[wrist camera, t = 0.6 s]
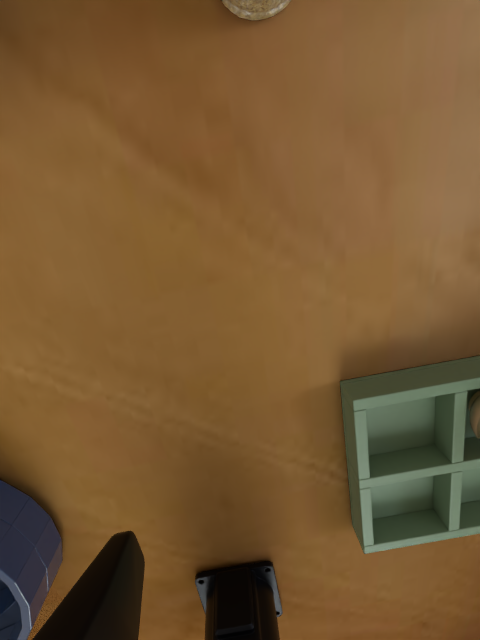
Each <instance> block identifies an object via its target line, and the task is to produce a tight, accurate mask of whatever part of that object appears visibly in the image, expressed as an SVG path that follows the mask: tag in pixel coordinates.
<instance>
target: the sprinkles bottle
mask: <svg viewBox="0 0 480 640" xmlns="http://www.w3.org/2000/svg"><path fill="white" fill-rule="evenodd" d="M221 1H222V2H223V4H224V6H225V7H227V8H228V9H229V10H230V11H231V12H232V13H234V14H235V15H237V16H238V17H239V18H244V19H248V20H261V19H266V18H270V17H273V16H274V15H276V14H277V13H279V12H280V11H282V10H283V9H284V8H285V7H286V6H287V5H288V3H289V2H290V1H291V0H221Z"/></svg>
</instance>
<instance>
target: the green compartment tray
mask: <svg viewBox="0 0 480 640" xmlns="http://www.w3.org/2000/svg"><path fill="white" fill-rule="evenodd" d="M340 388H341V399H342V411H343V423H344V434H345V446H346V457H347V469H348V480H349V492H350V503H351V515H352V525H353V528H354V530H355V533H356V535H357V537H358V540H359V542H360V545H361V547H362V550H363V552H364V554H366V553H372V552H378V551H383V550H389V549H395V548H400V547H406V546H412V545H417V544H423V543H428V542H434V541H440V540H445V539H451V538H457V537H462V536H468V535H473V534H479V533H480V441H479V440H478V439H477V437H476V436H475V434H474V432H473V431H472V429H471V425H470V421H469V412H470V411H469V408H468V405H469V401H470V399H471V397H472V396H473V395H474V394H475V393H476V392H478V391H479V390H480V356H475V357H470V358H464V359H459V360H453V361H448V362H442V363H437V364H431V365H426V366H420V367H415V368H409V369H404V370H398V371H393V372H387V373H382V374H376V375H371V376H365V377H360V378H354V379H349V380H343V381H340Z"/></svg>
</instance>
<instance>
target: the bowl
mask: <svg viewBox="0 0 480 640" xmlns="http://www.w3.org/2000/svg"><path fill="white" fill-rule="evenodd" d="M61 563H62V539H61V537H60V535H59V533H58V530H57V528H56V526H55V524H54V522H53V520H52V518H51V517H50V516H49V515H48V514H47V513H46V512H45V511H44V510H43V509H42V508H41V507H40V506H39V505H38V504H37V503H36V502H35V501H34V500H33V499H32V498H31V497H30V496H28V495H27V494H25V493H23V492H21V491H20V490H18V489H16V488H14V487H13V486H11V485H9V484H7V483H6V482H4V481H1V480H0V640H27V639H28V637H29V634H30V632H31V630H32V628H33V625H34V623H35V621H36V619H37V616H38V614H39V612H40V610H41V607H42V605H43V603H44V601H45V599H46V596H47V594H48V592H49V590H50V587H51V585H52V583H53V581H54V578H55V576H56V574H57V572H58V569H59V567H60V565H61Z"/></svg>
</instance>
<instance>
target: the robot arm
mask: <svg viewBox="0 0 480 640" xmlns="http://www.w3.org/2000/svg"><path fill="white" fill-rule="evenodd" d="M144 567H145V562H144V556H143V553H142V550H141V548H140V546H139V543H138V541H137V538H136V536H135V534H134V533H133V532H132V531H126V532H121V533H117V534H115V535H113V536H112V537H111V538H110V540H109V541H108V542H107V544H106V545H105V546H104V547H103V549H102V550H101V551H100V553H99V554H98V555H97V557H96V558H95V559H94V560H93V562H92V563H91V564H90V566H89V567H88V568H87V570H86V571H85V572H84V573H83V575H82V576H81V577H80V579H79V580H78V581H77V583H76V584H75V585H74V586H73V588H72V589H71V590H70V592H69V593H68V594H67V595H66V597H65V598H64V599H63V601H62V602H61V603H60V605H59V606H58V607H57V608H56V610H55V611H54V612H53V614H52V615H51V616H50V618H49V619H48V620H47V621H46V623H45V624H44V625H43V627H42V628H41V629H40V631H39V632H38V633H37V634H36V636H35V637H34V638H33V640H138V634H139V623H140V612H141V601H142V590H143V579H144ZM195 584H196V587H197V590H198V593H199V596H200V599H201V602H202V605H203V608H204V611H205V614H206V621H205V640H280V638H279V630H278V623H277V617H279V616H281V615H282V606H281V602H280V597H279V592H278V587H277V582H276V577H275V572H274V568H273V564H272V562H270V561H264V562H258V563H253V564H247V565H241V566H236V567H230V568H225V569H219V570H213V571H208V572H202V573H198V574H197V575H196V578H195Z"/></svg>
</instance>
